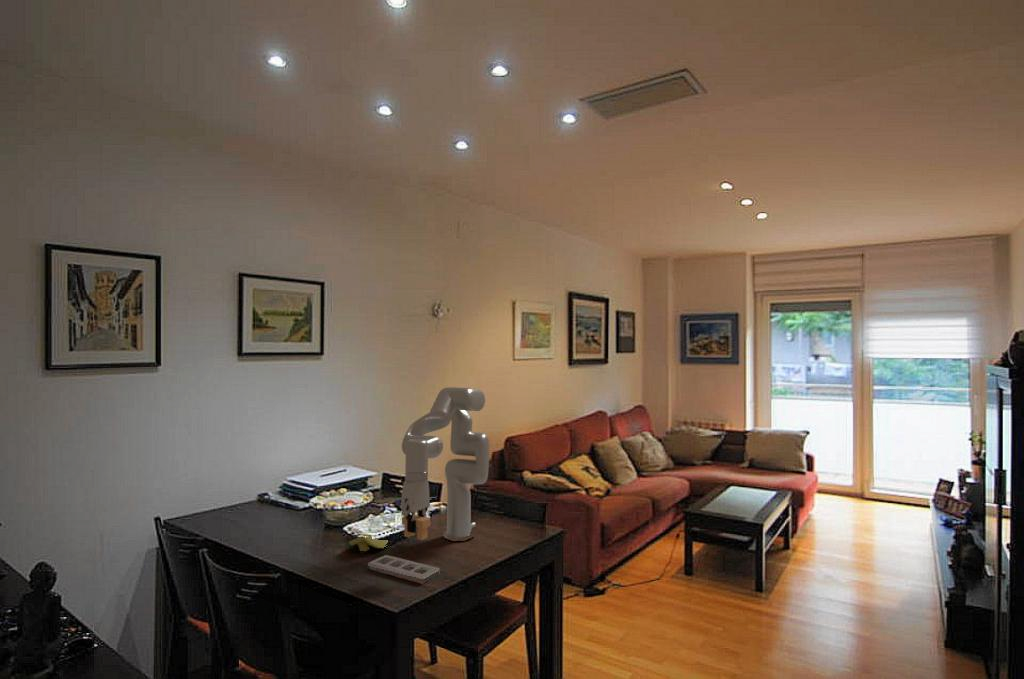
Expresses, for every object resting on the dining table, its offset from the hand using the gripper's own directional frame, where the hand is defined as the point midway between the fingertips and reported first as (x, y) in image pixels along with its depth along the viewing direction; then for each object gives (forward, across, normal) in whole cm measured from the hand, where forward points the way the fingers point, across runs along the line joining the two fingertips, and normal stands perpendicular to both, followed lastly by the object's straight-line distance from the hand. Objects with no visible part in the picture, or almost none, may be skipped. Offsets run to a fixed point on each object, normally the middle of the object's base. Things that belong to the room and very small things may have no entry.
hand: (415, 529), depth 204 cm
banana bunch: (+16, -14, -33) cm, 39 cm away
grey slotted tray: (+16, 0, -6) cm, 17 cm away
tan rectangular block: (+2, 0, 0) cm, 2 cm away
